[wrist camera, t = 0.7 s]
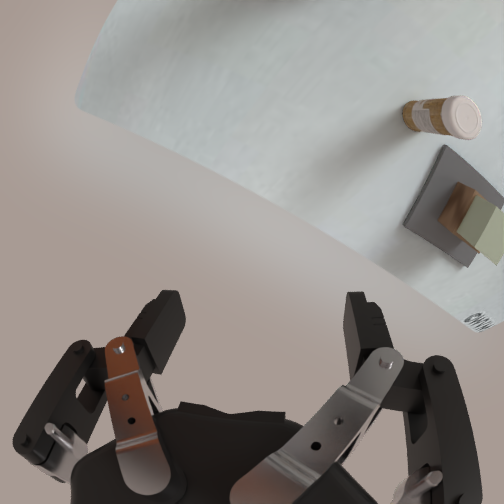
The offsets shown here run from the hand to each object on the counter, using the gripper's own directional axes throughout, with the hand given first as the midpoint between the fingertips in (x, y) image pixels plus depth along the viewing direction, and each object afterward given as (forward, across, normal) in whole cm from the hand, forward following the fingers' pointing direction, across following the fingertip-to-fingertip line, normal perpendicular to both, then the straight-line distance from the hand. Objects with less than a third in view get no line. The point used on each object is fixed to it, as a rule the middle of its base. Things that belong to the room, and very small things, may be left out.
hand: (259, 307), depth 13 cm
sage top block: (+22, -28, +4) cm, 36 cm away
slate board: (+28, -28, +4) cm, 39 cm away
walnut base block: (+26, -28, +4) cm, 39 cm away
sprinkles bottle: (+28, -19, -9) cm, 35 cm away
